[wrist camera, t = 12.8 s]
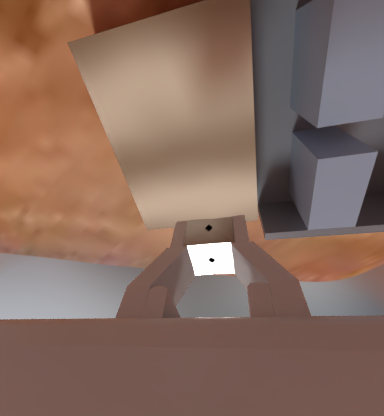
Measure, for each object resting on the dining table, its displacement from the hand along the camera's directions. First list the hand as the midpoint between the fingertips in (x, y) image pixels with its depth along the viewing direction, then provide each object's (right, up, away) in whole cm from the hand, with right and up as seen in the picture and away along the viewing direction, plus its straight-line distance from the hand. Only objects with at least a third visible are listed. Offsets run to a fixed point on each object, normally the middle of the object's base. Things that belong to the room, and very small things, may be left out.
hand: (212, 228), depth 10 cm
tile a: (+4, +8, 0) cm, 9 cm away
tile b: (+6, +3, +4) cm, 7 cm away
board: (-1, +6, +5) cm, 8 cm away
